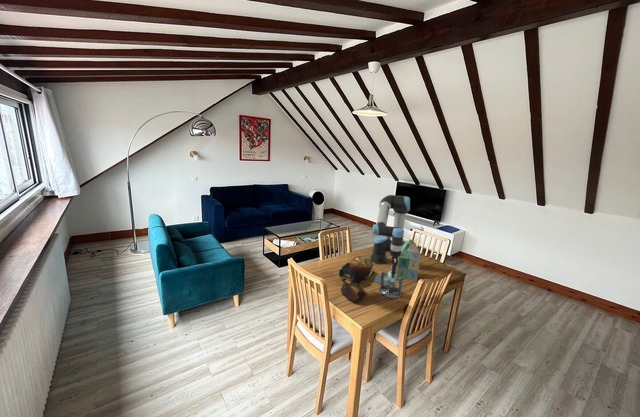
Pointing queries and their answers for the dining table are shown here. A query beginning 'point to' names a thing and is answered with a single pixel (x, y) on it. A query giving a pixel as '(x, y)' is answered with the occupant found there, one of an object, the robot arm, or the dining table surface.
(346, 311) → the dining table surface
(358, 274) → the bust
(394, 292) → the grey metal piece
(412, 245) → the printed tall block
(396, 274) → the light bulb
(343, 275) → the mask
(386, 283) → the coaster
